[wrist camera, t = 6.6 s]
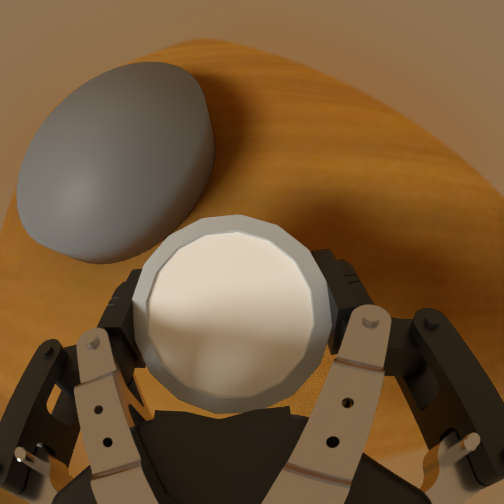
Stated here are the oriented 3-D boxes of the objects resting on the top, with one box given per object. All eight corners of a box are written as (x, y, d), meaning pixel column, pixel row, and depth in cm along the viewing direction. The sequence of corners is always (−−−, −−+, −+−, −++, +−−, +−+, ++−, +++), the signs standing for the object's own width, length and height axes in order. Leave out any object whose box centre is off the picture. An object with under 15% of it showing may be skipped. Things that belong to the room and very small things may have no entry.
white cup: (202, 386, 14) (160, 428, 8) (172, 275, 16) (115, 244, 9) (317, 356, 15) (356, 381, 8) (283, 244, 16) (296, 190, 9)
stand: (222, 83, 21) (216, 49, 17) (208, 265, 17) (192, 249, 13) (74, 111, 21) (56, 89, 17) (30, 262, 17) (-2, 250, 13)
